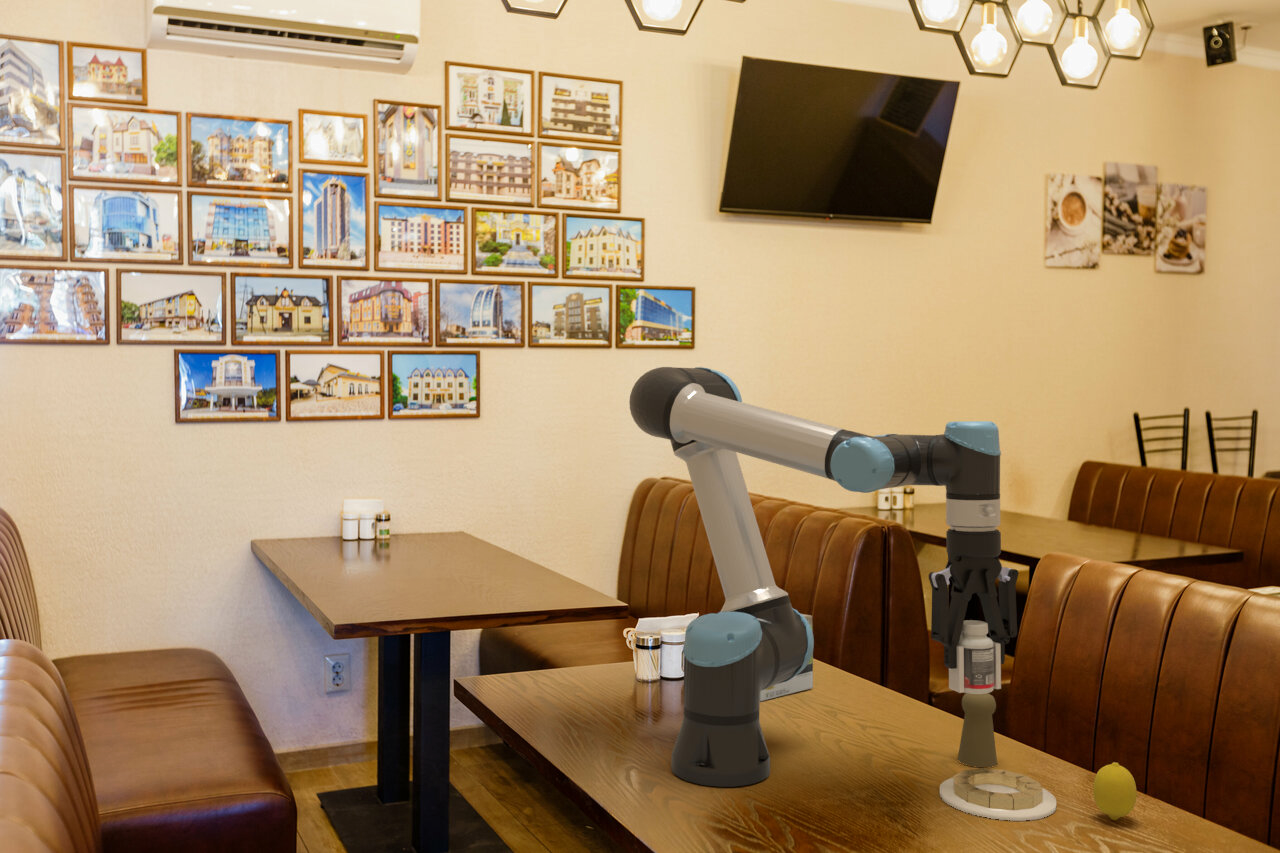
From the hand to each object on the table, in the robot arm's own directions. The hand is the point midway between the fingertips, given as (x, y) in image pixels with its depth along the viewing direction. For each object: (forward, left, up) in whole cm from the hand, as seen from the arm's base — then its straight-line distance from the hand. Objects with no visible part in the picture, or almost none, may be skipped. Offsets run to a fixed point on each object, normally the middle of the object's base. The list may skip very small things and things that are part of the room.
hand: (974, 688), depth 161 cm
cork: (+10, +13, -16) cm, 23 cm away
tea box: (-5, +60, -16) cm, 63 cm away
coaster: (+3, -2, -16) cm, 16 cm away
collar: (+3, -2, -16) cm, 16 cm away
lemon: (+14, -13, -16) cm, 25 cm away
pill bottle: (0, 0, -1) cm, 1 cm away
